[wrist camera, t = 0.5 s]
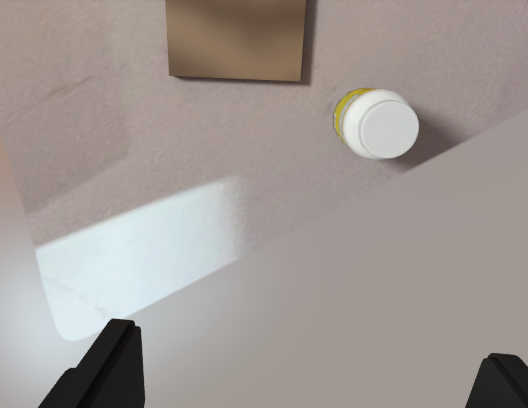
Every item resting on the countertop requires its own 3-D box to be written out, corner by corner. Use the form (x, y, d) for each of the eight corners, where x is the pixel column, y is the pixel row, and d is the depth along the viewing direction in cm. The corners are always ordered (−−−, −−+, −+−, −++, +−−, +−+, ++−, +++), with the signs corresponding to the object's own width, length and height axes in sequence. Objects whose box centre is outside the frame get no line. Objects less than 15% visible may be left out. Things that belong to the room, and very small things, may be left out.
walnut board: (164, -80, 29) (161, -85, 28) (310, -75, 28) (311, -81, 27) (172, 75, 33) (169, 75, 32) (299, 81, 32) (300, 81, 31)
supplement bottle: (400, 106, 33) (447, 118, 24) (366, 155, 34) (397, 183, 25) (353, 75, 32) (382, 75, 23) (320, 126, 34) (335, 145, 25)
